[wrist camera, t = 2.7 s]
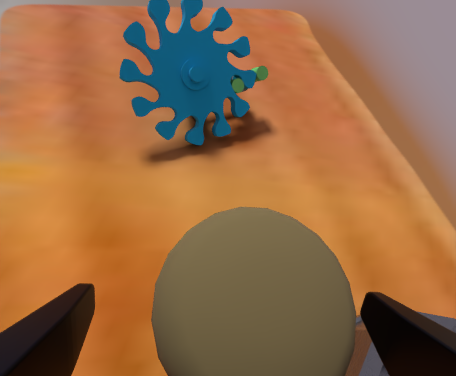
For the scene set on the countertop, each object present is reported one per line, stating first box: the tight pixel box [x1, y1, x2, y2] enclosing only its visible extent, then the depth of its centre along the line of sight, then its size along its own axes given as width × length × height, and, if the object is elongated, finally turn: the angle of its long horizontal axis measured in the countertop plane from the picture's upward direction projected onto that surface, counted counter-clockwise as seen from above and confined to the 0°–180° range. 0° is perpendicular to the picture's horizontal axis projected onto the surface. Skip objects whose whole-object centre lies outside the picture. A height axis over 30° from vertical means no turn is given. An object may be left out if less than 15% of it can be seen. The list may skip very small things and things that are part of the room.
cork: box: [151, 207, 356, 376], centre depth 10 cm, size 6×6×11 cm
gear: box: [120, 0, 268, 145], centre depth 21 cm, size 11×6×10 cm
